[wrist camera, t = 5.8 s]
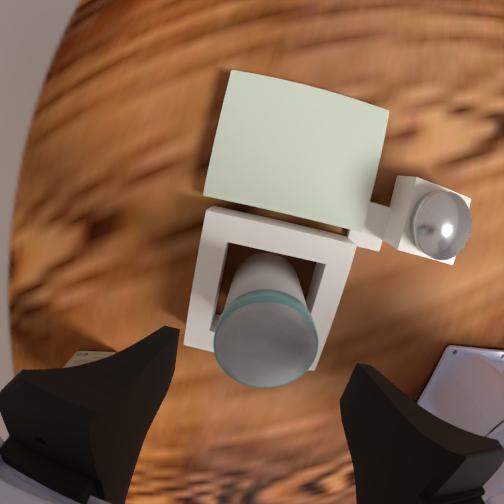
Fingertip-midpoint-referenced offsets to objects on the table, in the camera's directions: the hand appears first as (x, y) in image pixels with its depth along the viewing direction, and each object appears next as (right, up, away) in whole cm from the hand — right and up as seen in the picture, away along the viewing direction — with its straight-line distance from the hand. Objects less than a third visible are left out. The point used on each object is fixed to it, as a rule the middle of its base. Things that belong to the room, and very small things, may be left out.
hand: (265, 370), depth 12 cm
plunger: (+11, +7, +7) cm, 15 cm away
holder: (+4, +4, +9) cm, 11 cm away
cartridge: (0, +2, +9) cm, 10 cm away
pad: (+2, +11, +7) cm, 13 cm away
